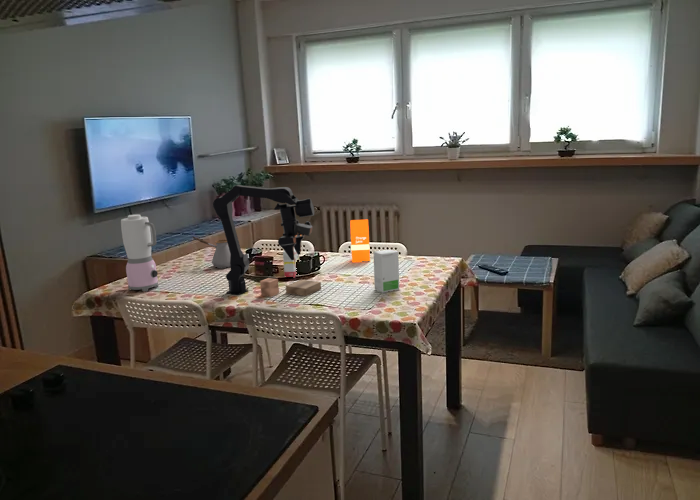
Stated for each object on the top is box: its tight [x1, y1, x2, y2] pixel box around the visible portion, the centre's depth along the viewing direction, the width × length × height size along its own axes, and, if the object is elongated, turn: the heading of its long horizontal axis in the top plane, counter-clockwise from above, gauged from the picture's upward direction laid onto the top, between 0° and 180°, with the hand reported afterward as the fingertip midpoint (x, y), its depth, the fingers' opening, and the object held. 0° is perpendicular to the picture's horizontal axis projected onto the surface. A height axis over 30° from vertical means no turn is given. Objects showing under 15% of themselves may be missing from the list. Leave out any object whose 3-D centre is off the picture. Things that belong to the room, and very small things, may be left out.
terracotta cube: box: [259, 277, 280, 298], centre depth 222 cm, size 5×5×6 cm
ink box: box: [282, 248, 300, 279], centre depth 249 cm, size 9×5×12 cm, turn 166°
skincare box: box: [372, 249, 400, 294], centre depth 219 cm, size 8×7×16 cm
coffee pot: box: [191, 236, 231, 269], centre depth 274 cm, size 21×12×15 cm, turn 78°
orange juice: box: [349, 219, 371, 263], centre depth 270 cm, size 8×9×20 cm
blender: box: [120, 214, 159, 292], centre depth 238 cm, size 16×12×32 cm
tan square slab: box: [285, 279, 322, 297], centre depth 225 cm, size 10×10×3 cm
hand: (296, 257), depth 223 cm, fingers open, 9 cm apart
